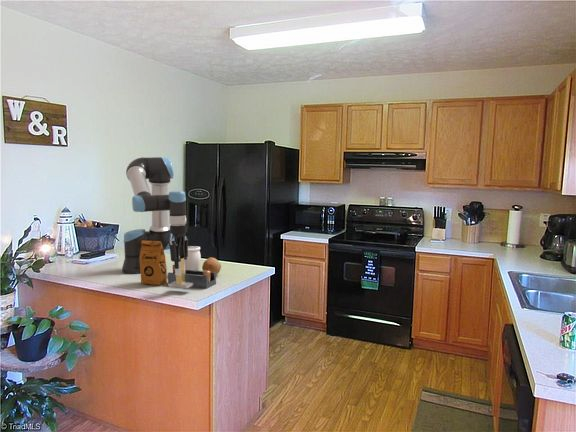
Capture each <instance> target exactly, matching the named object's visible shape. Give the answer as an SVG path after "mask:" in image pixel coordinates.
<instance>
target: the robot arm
mask: <svg viewBox="0 0 576 432" xmlns="http://www.w3.org/2000/svg"><path fill="white" fill-rule="evenodd" d="M174 173H175V172H174V167H173V163H172V160H171V159H170V158H169V157H161V156H157V157H143V156H141V157H138V158H135V159H133V160H132V161H131V162H130V163H128V165H127V168H126V171H125V175H126V179H128V181H129V182H130V185H131V188H132V191H133V196H132V197H131V206H132V211H133V212H135V213H138V212H139V213H144V212H151V221H152V222H151V226H150V227H149V230H148V231H146V229H145V228H138V229H132V230H128V231H126V232H124V234H123V245H124V248H123V249H124V259H123V260H124V261H123V264H122V267H121V269H122V270H121V272H122V273H123V274H128V275H133V274H134V275H135V274H136V275H137V274H141V272H140V259H139V256H140V252H141V247H142V244H141V242H142V241H161V243H162V246H163V250H164V251H168V250H169V253H170V261H171V262H173V265H175V275H179V276H180V275H181V262H180V261H179V258H184V267H185V260H187V258H186V257H188V246H189V239H190V238H189V236H186V233H188V230H187V228H188V227H187V226H188V225H187V202H186V201H187V198H186V191H183V190H176V191H175V190H173V191H168V187H169V186H168V185H169V184H170V183H171V179H172V180H173V179H174V176H175V175H174ZM147 180H148V181H147ZM148 182H149V184H150V185H151V191H150V187H149V184H148ZM168 211H169V212H168ZM168 214H169V217H168ZM168 219H169V220H168ZM168 221H169V223H168ZM169 224H170V226H169ZM185 254H186V255H185Z"/></svg>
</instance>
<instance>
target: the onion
mask: <svg viewBox="0 0 576 432" xmlns="http://www.w3.org/2000/svg"><path fill="white" fill-rule="evenodd" d="M221 269H222V264H221V262H220V261H219V260H218V259H217V258H215V257H208V258H206V259H205V260H204V262H203V263H202V270H201V271H204V270H210V272H216V276H217V275H218V274H219V273H220V271H221Z"/></svg>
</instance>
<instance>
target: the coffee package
mask: <svg viewBox="0 0 576 432" xmlns="http://www.w3.org/2000/svg"><path fill="white" fill-rule="evenodd" d="M141 244H142V247H141V252H140V256H139V259H140V272H141V273H140V284H142V285H152V286H162V285H164V284H168V269H167V261H166V255H165V250H163V246H162V243H161V241H142V242H141Z"/></svg>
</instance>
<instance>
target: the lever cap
mask: <svg viewBox="0 0 576 432" xmlns="http://www.w3.org/2000/svg"><path fill="white" fill-rule="evenodd" d="M179 261H180V262H181V275H180V276H179V275H176V281H174V282H172V283H170V284H169V285H168V287H169V288H171V287H172V288H180V289H181V288H182V289H188V288H192V287H191V286H193V283H189V282H185V267H184V258H180V257H179Z"/></svg>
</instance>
